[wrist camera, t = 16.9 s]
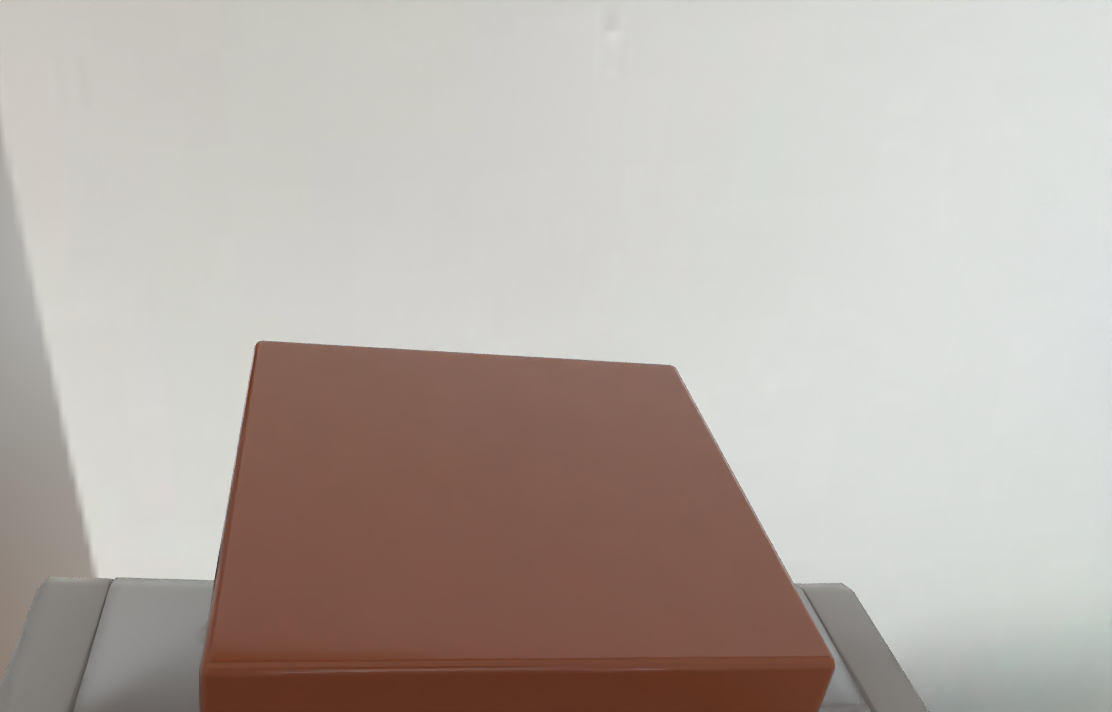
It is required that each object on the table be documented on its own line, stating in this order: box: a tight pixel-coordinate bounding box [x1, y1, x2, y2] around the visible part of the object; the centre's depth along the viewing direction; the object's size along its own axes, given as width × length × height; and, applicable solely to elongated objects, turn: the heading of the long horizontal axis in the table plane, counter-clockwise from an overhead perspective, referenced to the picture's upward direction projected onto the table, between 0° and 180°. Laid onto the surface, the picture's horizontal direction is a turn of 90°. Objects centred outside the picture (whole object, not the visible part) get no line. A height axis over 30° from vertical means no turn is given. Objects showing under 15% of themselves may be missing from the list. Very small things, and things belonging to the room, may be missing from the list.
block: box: [199, 341, 835, 712], centre depth 9 cm, size 4×4×4 cm
